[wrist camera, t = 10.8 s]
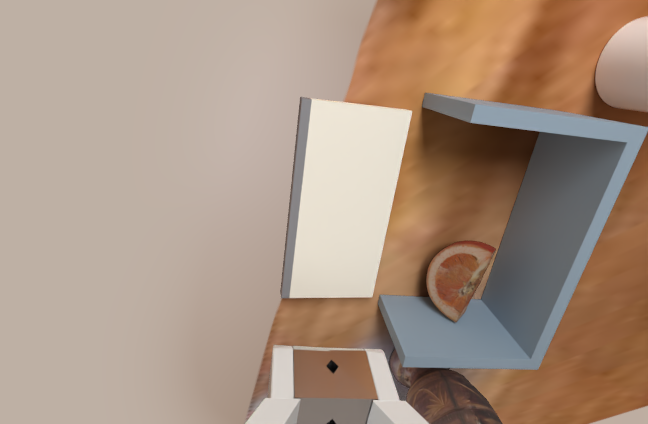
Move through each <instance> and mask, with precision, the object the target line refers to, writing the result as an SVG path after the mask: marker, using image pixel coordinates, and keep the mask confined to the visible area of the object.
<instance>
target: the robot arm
mask: <svg viewBox="0 0 648 424" xmlns="http://www.w3.org/2000/svg"><path fill="white" fill-rule="evenodd" d="M245 424H429V423H428V422H427V421H426V420H425V419H424V418H423V417H422V416H421V415H420V414H419V413H418V412H417V411H416V410H415V409H414V408H412V407H411V406H410V405H409V404H408V403H407V402H406V401H400V399H399V396H398V393H397V390H396V387H395V384H394V381H393V377H392V374H391V371H390V368H389V365H388V362H387V359H386V356H385V353H384V351H383V350H382V349H351V348H320V347H305V346H293V347H292V346H283V345H274V346H273V351H272V359H271V368H270V376H269V386H268V396H267V398H264V400H263V401H262V402H261V404H260V405H259V406H258V407H257V409H256V410H255V411H254V412H253V414H252V415H251V416H250V418H249V419H248V420H247V421H246V423H245Z"/></svg>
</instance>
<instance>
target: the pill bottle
mask: <svg viewBox="0 0 648 424" xmlns="http://www.w3.org/2000/svg"><path fill="white" fill-rule="evenodd" d="M595 83H596V89H597V91H598V94H599V96H600V97H601V99H602V100H603V101H604V102H605V103H607V104H608V105H610V106H612V107H614V108H621V109H628V110H635V111H642V112H648V16H645V17H641V18H638V19H635V20H633V21H631V22H629V23H627V24H626V25H625V26H623V27H622V28H621V29H619V30H618V31H617V32H616V33H615V34H614V35H613V36H612V37H611V39H610V40H609V41H608V43H607V44H606V46H605V47H604V49H603V51H602V53H601V55H600V58H599V60H598V63H597V67H596V72H595Z"/></svg>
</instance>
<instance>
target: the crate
mask: <svg viewBox="0 0 648 424" xmlns="http://www.w3.org/2000/svg"><path fill="white" fill-rule="evenodd" d="M422 107H424V108H427V109H430V110H433V111H436V112H439V113H442V114H445V115H448V116H451V117H454V118H457V119H460V120H463V121H466V122H469V123H476V124H484V125H492V126H499V127H507V128H515V129H523V130H531V131H539V132H540V133H539V136H538V139H537V141H536V144H535V147H534V150H533V153H532V156H531V159H530V161H529V164H528V167H527V170H526V173H525V176H524V179H523V181H522V184H521V187H520V190H519V193H518V196H517V198H516V201H515V204H514V207H513V210H512V213H511V216H510V218H509V221H508V224H507V227H506V230H505V233H504V236H503V238H502V241H501V244H500V247H499V250H498V253H497V255H496V258H495V261H494V264H493V267H492V270H491V273H490V275H489V278H488V281H487V284H486V287H485V290H484V293H483V295H482V298H481V300H479V299H471V300H470V302H469V304H468V306H467V309H466V311H465V313H464V314H463V315H462V317H461V318H460V319H459V320H458V321H457V322H454V321H453V320H451V319H449V318H448V317H447V316H446V315H445V314H443V313H442V312H441V311H440V310H439V309H438V308H437V307H436V305H435V304H434V303H433V301H432V300H431V298H430V297H416V296H395V295H380V296H379V301H378V306H379V308H380V311H381V313H382V316H383V318H384V321H385V323H386V326H387V329H388V331H389V334H390V336H391V339H392V341H393V344H394V346H395V349H396V352H397V354H398V357H399V359H400V362H401V364H402V367H420V368H477V369H534V370H538V368H539V366H540V364H541V362H542V360H543V357H544V355H545V353H546V351H547V349H548V347H549V344H550V342H551V340H552V338H553V336H554V334H555V331H556V329H557V327H558V325H559V323H560V321H561V318H562V316H563V314H564V312H565V310H566V308H567V305H568V303H569V301H570V299H571V297H572V295H573V292H574V290H575V288H576V286H577V284H578V282H579V279H580V277H581V275H582V273H583V271H584V268H585V266H586V264H587V262H588V260H589V258H590V255H591V253H592V251H593V249H594V247H595V245H596V242H597V240H598V238H599V236H600V234H601V232H602V229H603V227H604V225H605V223H606V221H607V219H608V216H609V214H610V212H611V210H612V208H613V206H614V203H615V201H616V199H617V197H618V195H619V193H620V190H621V188H622V186H623V184H624V182H625V180H626V177H627V175H628V173H629V171H630V169H631V167H632V164H633V162H634V160H635V158H636V156H637V154H638V151H639V149H640V147H641V145H642V143H643V141H644V138H645V136H646V134H647V132H648V127H645V126H639V125H634V124H628V123H623V122H617V121H612V120H606V119H601V118H595V117H590V116H584V115H579V114H573V113H568V112H562V111H556V110H549V109H541V108H534V107H527V106H519V105H512V104H505V103H497V102H490V101H483V100H475V99H468V98H460V97H453V96H446V95H438V94H431V93H425V96H424V100H423V104H422Z"/></svg>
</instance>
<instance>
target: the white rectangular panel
mask: <svg viewBox="0 0 648 424" xmlns="http://www.w3.org/2000/svg"><path fill="white" fill-rule="evenodd" d="M411 115H412V111H410V110H405V109H397V108H388V107H380V106H372V105H363V104H355V103H347V102H338V101H329V100H321V99H313V98H304V97H300V105H299V115H298V125H297V135H296V145H295V155H294V165H293V174H292V184H291V194H290V203H289V214H288V223H287V233H286V243H285V253H284V263H283V272H282V283H281V298H352V297H372V296H373V291H374V287H375V282H376V277H377V273H378V268H379V263H380V259H381V254H382V249H383V245H384V240H385V236H386V231H387V226H388V222H389V217H390V212H391V208H392V203H393V198H394V194H395V189H396V185H397V180H398V175H399V171H400V166H401V161H402V157H403V152H404V147H405V143H406V138H407V133H408V129H409V124H410V120H411Z"/></svg>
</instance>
